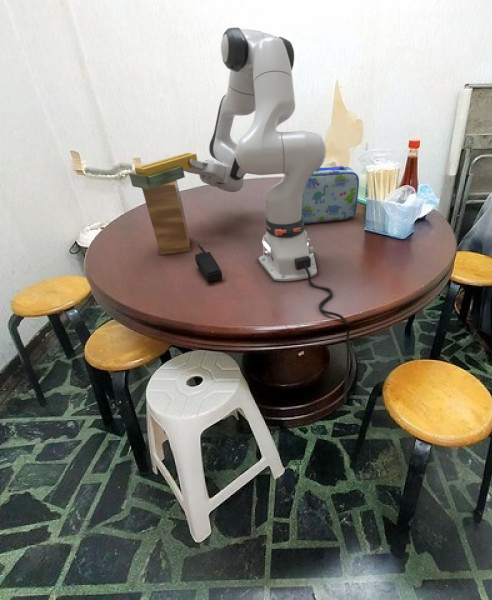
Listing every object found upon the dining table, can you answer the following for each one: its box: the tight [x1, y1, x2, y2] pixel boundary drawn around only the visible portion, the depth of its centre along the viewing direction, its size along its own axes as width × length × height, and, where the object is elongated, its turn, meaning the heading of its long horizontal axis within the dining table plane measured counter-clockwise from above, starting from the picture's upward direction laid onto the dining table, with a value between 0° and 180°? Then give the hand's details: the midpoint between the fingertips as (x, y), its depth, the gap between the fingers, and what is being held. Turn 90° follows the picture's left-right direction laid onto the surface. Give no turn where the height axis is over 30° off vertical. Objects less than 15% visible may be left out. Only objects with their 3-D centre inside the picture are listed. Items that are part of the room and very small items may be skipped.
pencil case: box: [134, 152, 198, 176], centre depth 116 cm, size 22×4×4 cm, turn 149°
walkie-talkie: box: [194, 243, 223, 283], centre depth 112 cm, size 6×6×20 cm
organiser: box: [128, 166, 191, 256], centre depth 120 cm, size 15×14×28 cm
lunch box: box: [302, 165, 360, 224], centre depth 140 cm, size 26×11×21 cm, turn 101°
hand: (183, 160), depth 120 cm, fingers closed on pencil case, 4 cm apart
